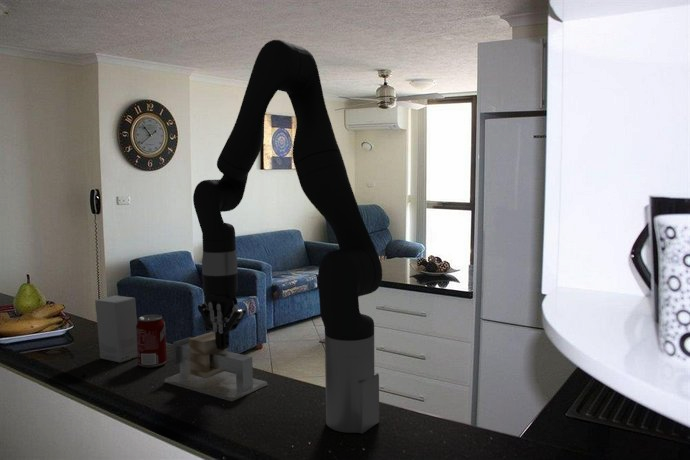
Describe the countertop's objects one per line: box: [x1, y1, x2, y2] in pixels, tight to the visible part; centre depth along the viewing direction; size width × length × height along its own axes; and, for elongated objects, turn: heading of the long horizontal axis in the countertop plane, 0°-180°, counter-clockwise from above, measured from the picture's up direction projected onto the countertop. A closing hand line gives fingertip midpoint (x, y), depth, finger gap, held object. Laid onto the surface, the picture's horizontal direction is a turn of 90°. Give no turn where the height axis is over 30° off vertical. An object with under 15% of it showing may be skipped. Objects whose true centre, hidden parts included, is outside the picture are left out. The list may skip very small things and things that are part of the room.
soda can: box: [136, 314, 168, 369], centre depth 147 cm, size 7×7×12 cm
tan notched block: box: [189, 331, 229, 378], centre depth 134 cm, size 5×7×8 cm
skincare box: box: [94, 294, 138, 363], centre depth 152 cm, size 8×7×16 cm
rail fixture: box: [164, 336, 268, 402], centre depth 134 cm, size 21×11×8 cm, turn 56°
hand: (222, 348), depth 132 cm, fingers closed
